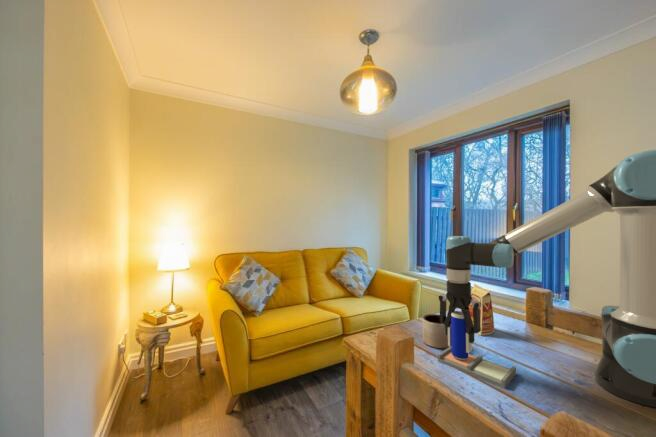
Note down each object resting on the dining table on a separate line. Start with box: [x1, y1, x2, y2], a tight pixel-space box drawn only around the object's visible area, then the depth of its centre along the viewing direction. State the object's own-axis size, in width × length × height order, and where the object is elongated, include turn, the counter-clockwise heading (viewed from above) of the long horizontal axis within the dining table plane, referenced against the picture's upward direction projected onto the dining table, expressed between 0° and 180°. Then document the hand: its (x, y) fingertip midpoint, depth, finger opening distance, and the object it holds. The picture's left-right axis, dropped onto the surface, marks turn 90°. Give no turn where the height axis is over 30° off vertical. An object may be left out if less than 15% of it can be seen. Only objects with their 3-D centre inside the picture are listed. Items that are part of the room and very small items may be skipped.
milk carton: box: [469, 283, 495, 336], centre depth 117 cm, size 9×9×20 cm
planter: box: [422, 313, 451, 350], centre depth 106 cm, size 11×11×10 cm
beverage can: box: [451, 310, 469, 360], centre depth 92 cm, size 5×5×15 cm
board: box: [437, 346, 517, 389], centre depth 88 cm, size 20×11×2 cm, turn 40°
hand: (459, 348), depth 92 cm, fingers open, 5 cm apart
